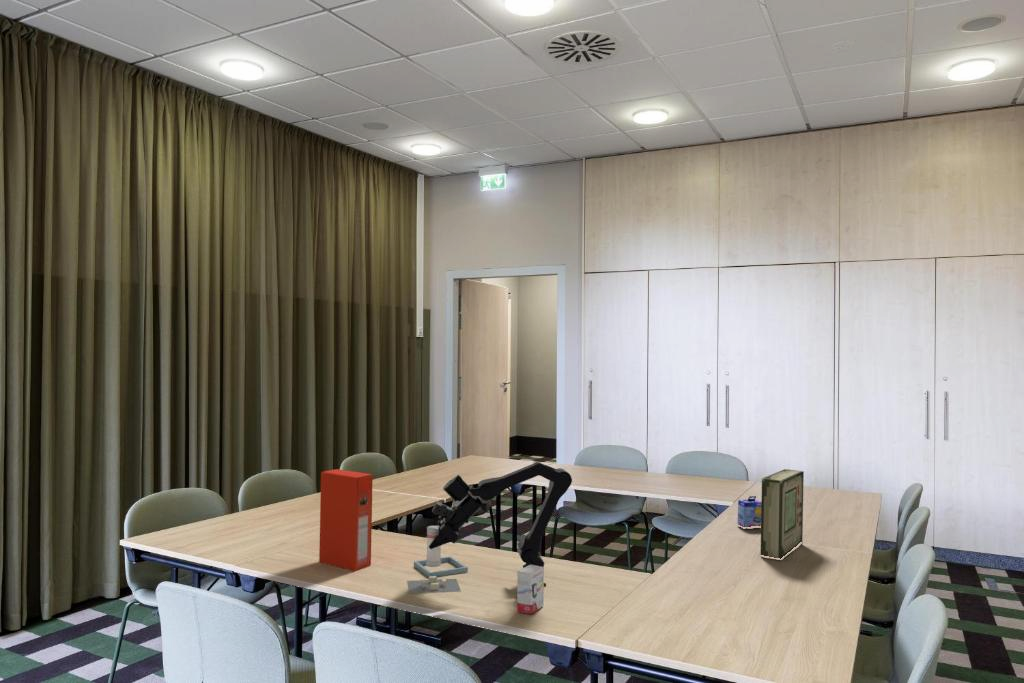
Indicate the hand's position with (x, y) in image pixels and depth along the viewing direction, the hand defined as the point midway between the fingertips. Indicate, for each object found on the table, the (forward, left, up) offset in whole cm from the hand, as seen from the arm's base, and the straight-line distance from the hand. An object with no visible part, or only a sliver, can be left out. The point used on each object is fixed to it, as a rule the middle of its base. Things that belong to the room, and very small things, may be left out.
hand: (429, 545), depth 222 cm
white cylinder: (-1, +1, -6) cm, 6 cm away
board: (-1, +3, -13) cm, 13 cm away
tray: (-10, -12, -13) cm, 20 cm away
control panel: (-142, +22, -13) cm, 144 cm away
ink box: (-20, +31, -13) cm, 39 cm away
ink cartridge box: (-159, -9, -13) cm, 159 cm away
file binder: (+17, -34, -13) cm, 41 cm away
